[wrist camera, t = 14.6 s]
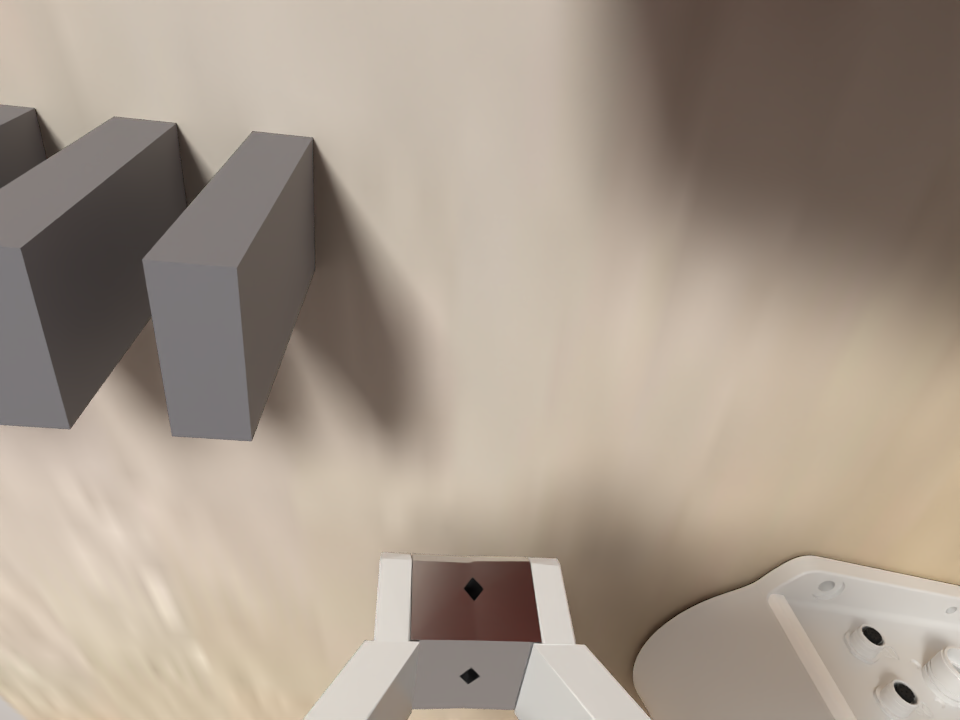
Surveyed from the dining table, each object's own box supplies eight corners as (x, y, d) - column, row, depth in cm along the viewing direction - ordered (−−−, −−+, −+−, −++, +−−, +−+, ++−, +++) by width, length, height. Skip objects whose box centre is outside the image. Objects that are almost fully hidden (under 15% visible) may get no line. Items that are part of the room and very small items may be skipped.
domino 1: (176, 122, 23) (20, 248, 15) (193, 258, 26) (70, 429, 17) (113, 116, 23) (-80, 239, 14) (137, 253, 25) (-14, 423, 17)
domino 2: (312, 137, 23) (236, 267, 15) (315, 269, 26) (252, 441, 18) (252, 131, 23) (142, 259, 15) (261, 264, 26) (171, 436, 18)
